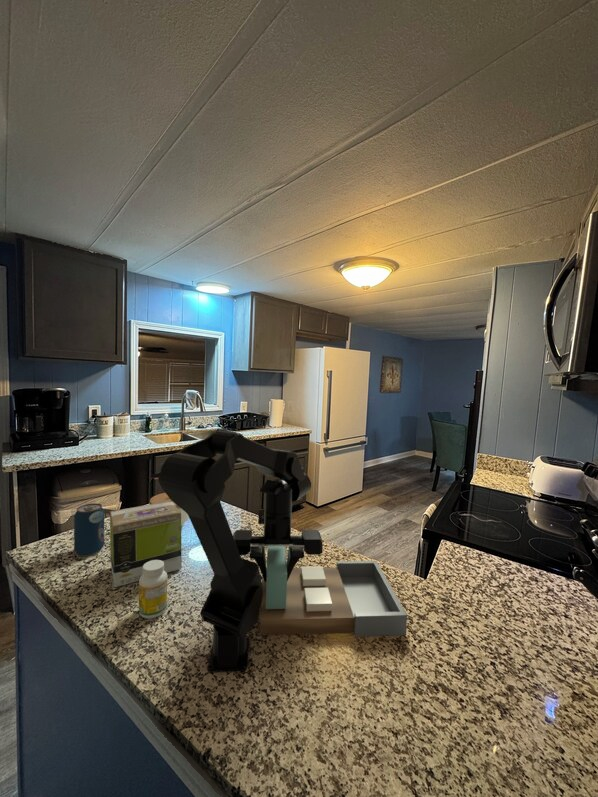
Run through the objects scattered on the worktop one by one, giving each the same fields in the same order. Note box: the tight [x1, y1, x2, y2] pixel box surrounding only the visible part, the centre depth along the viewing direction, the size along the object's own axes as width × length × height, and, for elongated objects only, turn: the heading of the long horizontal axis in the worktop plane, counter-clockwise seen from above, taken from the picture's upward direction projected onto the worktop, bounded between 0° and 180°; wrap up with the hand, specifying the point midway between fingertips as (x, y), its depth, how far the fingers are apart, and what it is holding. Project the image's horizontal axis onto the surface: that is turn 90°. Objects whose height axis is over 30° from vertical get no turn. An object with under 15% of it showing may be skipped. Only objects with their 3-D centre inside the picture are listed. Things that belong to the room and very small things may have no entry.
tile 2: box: [304, 588, 332, 611], centre depth 68 cm, size 5×5×2 cm
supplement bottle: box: [138, 560, 168, 619], centre depth 68 cm, size 5×5×10 cm
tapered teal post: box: [266, 546, 287, 609], centre depth 71 cm, size 12×4×7 cm, turn 4°
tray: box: [336, 560, 408, 638], centre depth 73 cm, size 19×10×4 cm, turn 4°
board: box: [259, 567, 354, 636], centre depth 72 cm, size 17×18×3 cm
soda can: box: [73, 503, 105, 557], centre depth 90 cm, size 7×7×12 cm
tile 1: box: [300, 565, 326, 586], centre depth 76 cm, size 5×5×2 cm
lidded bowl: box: [149, 492, 190, 528], centre depth 106 cm, size 13×13×11 cm
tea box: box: [109, 501, 183, 588], centre depth 82 cm, size 15×10×15 cm, turn 123°
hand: (275, 580), depth 71 cm, fingers closed on tapered teal post, 4 cm apart
